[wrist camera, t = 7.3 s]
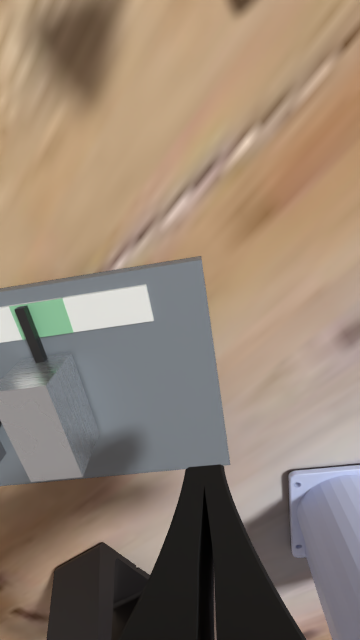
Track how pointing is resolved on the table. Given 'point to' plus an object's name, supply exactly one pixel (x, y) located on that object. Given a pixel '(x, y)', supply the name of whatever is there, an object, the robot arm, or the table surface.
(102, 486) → the table surface
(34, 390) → the plunger
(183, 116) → the table surface
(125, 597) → the phone stand
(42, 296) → the gauge base
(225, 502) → the robot arm
